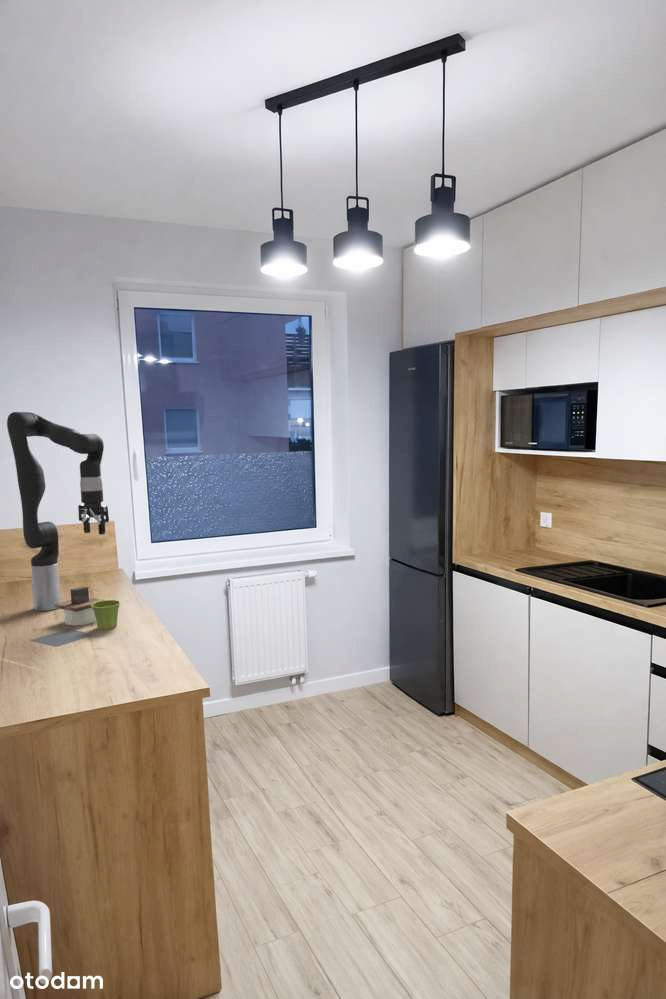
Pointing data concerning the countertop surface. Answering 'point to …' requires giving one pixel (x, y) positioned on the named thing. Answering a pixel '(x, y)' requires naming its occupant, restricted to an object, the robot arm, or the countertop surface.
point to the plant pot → (106, 613)
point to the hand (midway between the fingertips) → (94, 533)
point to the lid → (78, 600)
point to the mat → (62, 637)
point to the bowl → (80, 617)
